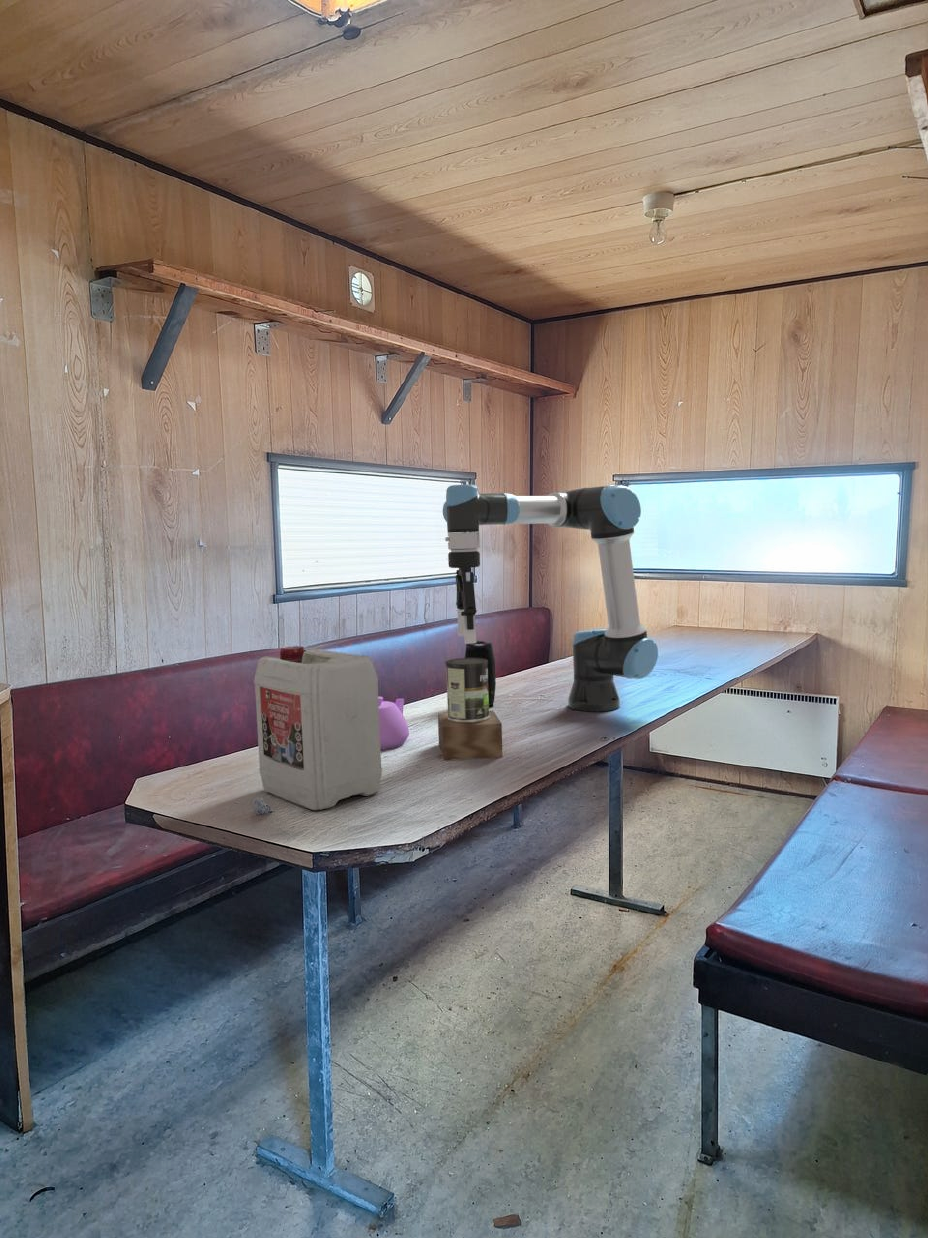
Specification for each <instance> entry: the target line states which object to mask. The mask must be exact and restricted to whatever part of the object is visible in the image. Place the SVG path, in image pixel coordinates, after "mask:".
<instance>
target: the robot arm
mask: <svg viewBox="0 0 928 1238" xmlns="http://www.w3.org/2000/svg"><path fill="white" fill-rule="evenodd" d="M478 490H479V489H478V486H477V485H476V484H454V485H449V486H447V488H446V492H445V493H446V494H445V502H444V503H443V506H442V515H443V519H444V520H445V522H446V529H447V536H446V537H445V538H444V540H445V542H447V547H448V550H449V551H450V552H448V554H447V558H448V559H447V561H448V563H447V564H448V567H449V568H451V569H456V572H455V573H456V575H455V581H456V582H455V583H456V602H455V604H456V608H457V635H458V637H463V640H464V641H463V642H464V644H465V645H466V644H471V643H476V641H477V630H476V629H477V624H476V621H477V620H476V614H477V611H478V610H477V605H476V596H475V595H476V594H475V584H474V581H475V574H474V572H473V571H472V570H471V569H472V568H478V567H480V566H481V553H480V551H479V549H480V548H481V545H480V526H490V525H493V526H494V525H495V526H496V525H504V526H505V525H529V524H530V525H535V524H538V525H539V524H541V525H542V524H547V525H548V526H550V527H553V528H571V529H576V530H589V531H590V538H591V539H592V541H594V542H595V543H597V547H598V554H599V556H598V557H599V561H600V562H599V563H600V570H601V578H602V585H603V591H604V598H605V599H604V600H605V605H606V607H605V608H606V613H607V622H608V628H596V629H595V628H594V629H586V630H580V631H576V632H575V633H574V635H573V643H572V655H573V656H572V658H573V660H572V661H573V682H572V686H571V690H570V692H569V694H568V695H569V696H568V698H567V699H568V700H567V702H568V707H569V708H570V709H572V710H575V711H582V712H583V711H584V712H605V711H613V710H616V709H619V708H620V705H621V703H620V696H619V693H618V691H617V687H616V684H615V682H614V681H615V680H614V676H616V677H620V678H621V677H622V678H625V679H629V680H630V679H631V680H633V679H636V680H639V679H640V680H642V679H644V678H646V677H647V676H650V674H652V672H653V670H654V668H655V667H656V665H657V661H658V658H659V649H658V645H657V643H656V642H655V641H654V639H652V638H650V637H648V633H647V628H646V626H644V625H643V624H641V621H640V614H639V606H638V604H639V603H638V597H637V590H636V581H635V574H634V573H635V572H634V566H633V558H632V551H631V542H630V539H631V538H632V536H633V535H634V534H635V529H634V528H635V527H636V526H637V524H638V523H639V521H640V518H641V514H642V510H641V509H642V508H641V504H640V499H639V497H638V496H637V494H636V493H635V491H633V490H632V489H631V488H630V487H628V486H625V485H614V484H612V485H611V484H610V485H603V486H593V487H583V488H578V489H572V490H566V491H557V492H555V491H554V492H551V493H549V494H548V495H515V494H512V493H506V492H496V493H495V492H493V493H492V492H491V493H490V492H489V493H488V492H487V493H479V491H478Z"/></svg>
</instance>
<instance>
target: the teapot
mask: <svg viewBox="0 0 928 1238" xmlns="http://www.w3.org/2000/svg"><path fill="white" fill-rule="evenodd" d="M404 703H405V699H404V698H397V699H395V702H392V701H387V700H384V697H383V696H379V695H378V704H379V730H380V751H382V750H390V749H394V748H398V747H400V746H402V745H403V744H404V743H405V742H406V740H407V739H408V737H409V736H410V729H409V725H408V722H407V720H406V717H405V716H404V705H405V704H404Z"/></svg>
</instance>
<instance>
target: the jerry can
mask: <svg viewBox="0 0 928 1238" xmlns="http://www.w3.org/2000/svg"><path fill="white" fill-rule="evenodd" d="M279 657H280V658H277V657H271V656H267V655H264V656H262V657H261V658H260V659H258V661H257V666H256V670H255V675H254V680H253V683H254V692H255V708H256V724H257V742H258V744H257V745H258V746H257V747H258V758H259V759H258V760H259V763H258V764H259V768H258V770H259V774H260V775H259V776H260V779H261V783H262V786H263V788H262V789H263V790H264V792H266V793H268V794H271V795H272V796H273V795H274V796H276V797H278V796H279V798H281V797H282V798H281V799H284V800H286V801H288V802H291V803H294V804H296V805H299V806H301V807H304V808H306V809H308V810H312V811H319V810H321V811H322V810H324V809H326V810H327V809H330V808H333V807H334V806H336V805H337V803H338V802H339V801H340V800H343V799H346V798H349V797H351V796H356V795H359V796H363V797H364V796H365V797H369V796H372V795H374V794H376V793H378V792H379V791H380V788H381V782H382V781H381V779H382V773H383V767H382V756H381V750H380V730H379V704H378V696H379V678H378V675H377V671H376V668H375V665H374V662H373V659H372V657H370V656H367V655H364V654H362V655H359V654H353V653H346V652H339V651H333V650H328V649H327V650H326V649H322V648H320V647H319V648H318V647H317V648H315V649H314V648H313V649H310V650H309V649H308V650H305V648H304V646H300V645H299V646H294V645H293V646H286V647H281V648H280V651H279Z"/></svg>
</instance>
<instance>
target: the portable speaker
mask: <svg viewBox="0 0 928 1238" xmlns="http://www.w3.org/2000/svg"><path fill="white" fill-rule="evenodd" d="M465 645H466V647H465V653H464V658H482V659H486V660H488V695H489V706H491V707H494V703H495V696H496V695H495V694H496V685H497V684H496V683H497V682H496V680H497V679H496V660H495V653H494V650H493V643H492V642H486V641H484V640H476V643H471V644H465Z"/></svg>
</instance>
